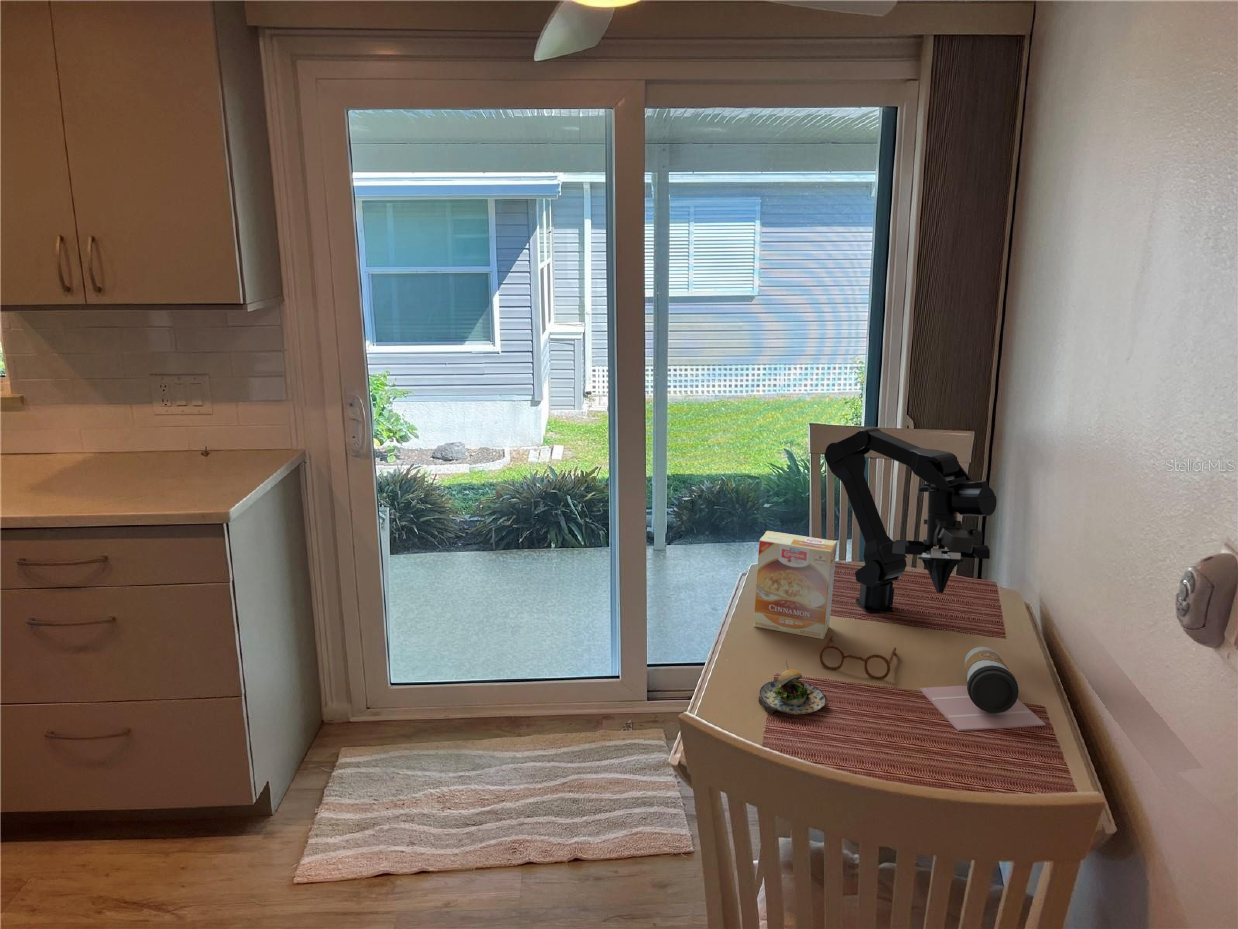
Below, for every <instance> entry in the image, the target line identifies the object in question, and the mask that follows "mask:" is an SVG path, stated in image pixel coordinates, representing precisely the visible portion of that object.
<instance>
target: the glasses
mask: <svg viewBox="0 0 1238 929" xmlns="http://www.w3.org/2000/svg"><path fill="white" fill-rule="evenodd" d="M833 641H834V636H833V635H831V636H830V637H829V638H828V640H827V641H826V643H825V645H824V646H823V647H822V648H821V650H820V652H819V654H818V655H819V658H818V659H819V662H820V663H819V664H821V666H822V667H823V668H824V669H827V670H829V669H830V671H839V670H840V669H841V668H842V667H843V665H844V662H845V659H853V660H857V661H862V662H863V666H864V672H865V674H866V675H867V677H869V678H871V679H874V680H878V681H879V680H881V681H882V680H884V679H886V678H887V677H888V675H889V674H890V672H891V664H892V661H893V659H894V656H895V655H896V651H897V647H893V649H892V652H891V655H890V657H889V659H888V658H887V657H885V656H884V655H881V654H876V653H875V654H870V655H868V656H867V657H866V658H864V657H863V656H859V655H854V654H845V652H844V651H843V650H842V649H841V648H840V647H838V646H836V645H830V644H831V642H833ZM828 649H829V650H830V649H831V650H832V649H833V650H835V651H837V652H838V653H839V654H840V656H841V659H840V662H839V664H838V665H837V666H829V665H827V664H826V663H825V661H824V658H823V656H824V655H823V654H824V653H825V651H826V650H828ZM871 659H880V660H883V662H884V663H885V664H886V672H885V673H884V674H883V675H881V676H878V675H877V676H876V675H873V674H872V673H871V672H870V671H869V670H868V664H869V661H870V660H871Z"/></svg>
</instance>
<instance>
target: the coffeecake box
mask: <svg viewBox="0 0 1238 929" xmlns="http://www.w3.org/2000/svg"><path fill="white" fill-rule="evenodd" d="M758 541H759V542H758V543H759V544H758V552H757V553H758V554H757V566H756V567H757V568H756V569H757V570H756V583H755V598H754V612H753V613H754V614H753V627H754V628H755V627H756V628H760V629H765V630H771V631H777V632H783V633H787V634H793V635H799V636H804V637H809V638H816V639H821V640H824V639H825V637H826V634H827V632H828V630H829V627H830V623H831V611H832V601H833V591H834V578H835V568H836V559H837V558H836V557H837V546H838V541H837V540H831V539H824V538H819V537H818V538H817V537H813V536H804V535H800V534H799V535H798V534H791V533H785V532H777V531H771V530H766V531H765V533H764V534H763V536H761V537H760V539H759V540H758Z"/></svg>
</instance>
